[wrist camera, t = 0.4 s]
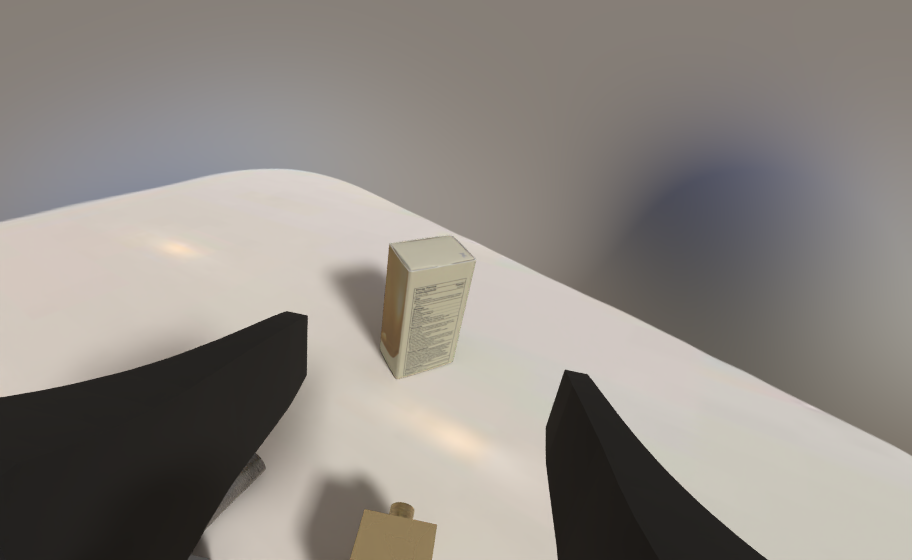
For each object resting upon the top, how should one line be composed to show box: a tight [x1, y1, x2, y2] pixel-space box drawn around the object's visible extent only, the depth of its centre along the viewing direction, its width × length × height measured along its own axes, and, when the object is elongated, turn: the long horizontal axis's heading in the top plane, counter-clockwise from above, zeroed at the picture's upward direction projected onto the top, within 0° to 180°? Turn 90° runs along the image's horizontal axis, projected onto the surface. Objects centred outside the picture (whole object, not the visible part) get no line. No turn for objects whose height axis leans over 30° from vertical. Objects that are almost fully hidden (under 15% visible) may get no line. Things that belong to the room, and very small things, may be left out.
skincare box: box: [380, 235, 476, 379], centre depth 38 cm, size 6×4×12 cm
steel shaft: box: [205, 453, 266, 529], centre depth 26 cm, size 7×2×2 cm, turn 153°
